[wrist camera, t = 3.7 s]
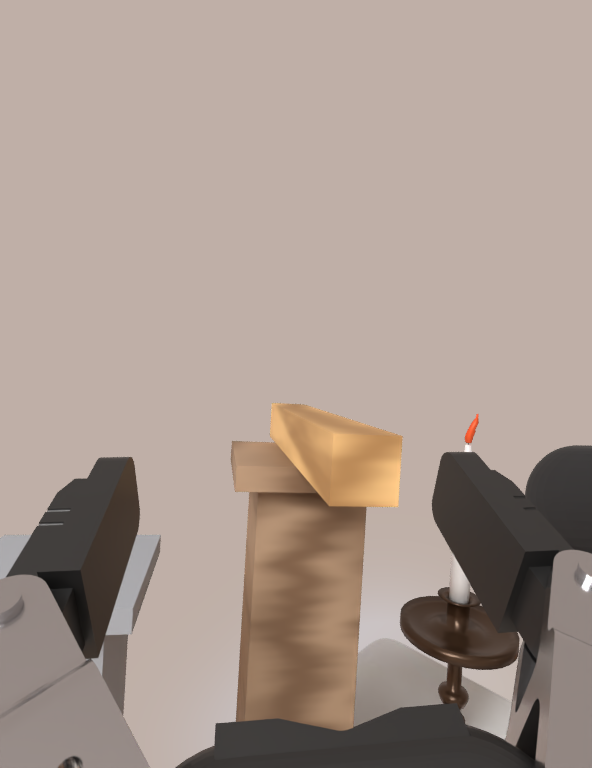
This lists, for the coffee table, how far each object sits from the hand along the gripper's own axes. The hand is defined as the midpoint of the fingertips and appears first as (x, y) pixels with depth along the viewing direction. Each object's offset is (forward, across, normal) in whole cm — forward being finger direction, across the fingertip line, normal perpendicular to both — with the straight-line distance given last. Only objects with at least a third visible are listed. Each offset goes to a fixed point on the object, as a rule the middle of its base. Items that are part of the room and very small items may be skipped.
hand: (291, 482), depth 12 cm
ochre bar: (+15, -3, +9) cm, 18 cm away
